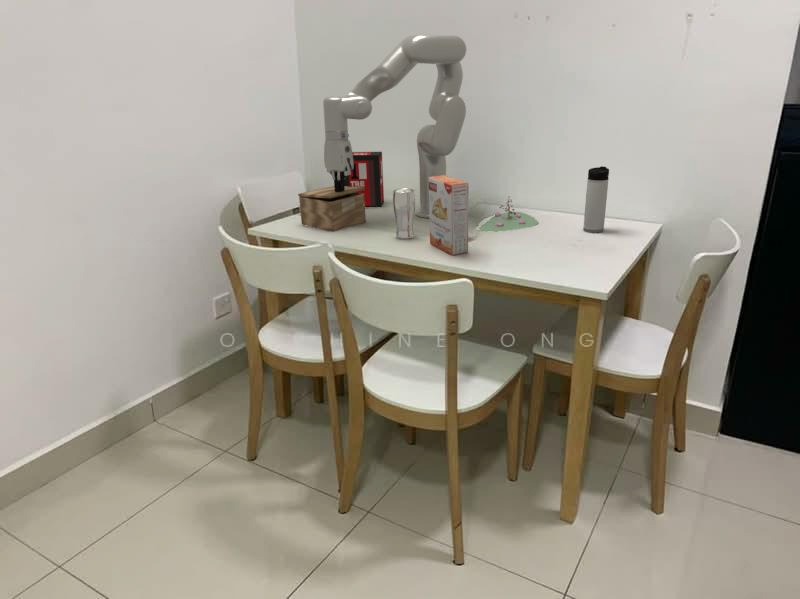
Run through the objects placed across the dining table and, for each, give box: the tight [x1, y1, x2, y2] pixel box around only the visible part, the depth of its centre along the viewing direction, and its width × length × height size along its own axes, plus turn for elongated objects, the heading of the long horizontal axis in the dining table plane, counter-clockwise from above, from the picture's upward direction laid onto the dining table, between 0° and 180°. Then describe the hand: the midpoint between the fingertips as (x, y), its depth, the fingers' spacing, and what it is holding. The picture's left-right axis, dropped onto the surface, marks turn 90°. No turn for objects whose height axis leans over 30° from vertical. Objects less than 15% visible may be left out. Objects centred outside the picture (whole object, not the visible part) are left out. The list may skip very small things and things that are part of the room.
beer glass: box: [392, 187, 416, 240], centre depth 194 cm, size 7×7×15 cm
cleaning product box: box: [344, 151, 385, 208], centre depth 236 cm, size 16×9×20 cm, turn 84°
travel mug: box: [583, 165, 610, 234], centre depth 192 cm, size 6×7×20 cm
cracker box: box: [428, 174, 469, 256], centre depth 179 cm, size 14×6×21 cm, turn 25°
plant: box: [479, 195, 539, 233], centre depth 206 cm, size 25×21×9 cm
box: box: [298, 192, 367, 233], centre depth 213 cm, size 16×16×10 cm
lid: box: [297, 185, 365, 198], centre depth 211 cm, size 16×16×1 cm
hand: (339, 191), depth 207 cm, fingers closed
